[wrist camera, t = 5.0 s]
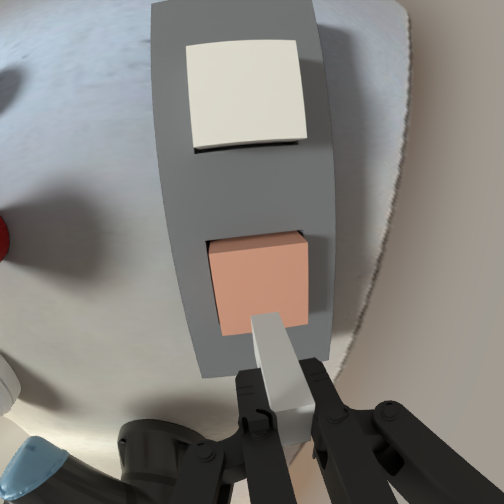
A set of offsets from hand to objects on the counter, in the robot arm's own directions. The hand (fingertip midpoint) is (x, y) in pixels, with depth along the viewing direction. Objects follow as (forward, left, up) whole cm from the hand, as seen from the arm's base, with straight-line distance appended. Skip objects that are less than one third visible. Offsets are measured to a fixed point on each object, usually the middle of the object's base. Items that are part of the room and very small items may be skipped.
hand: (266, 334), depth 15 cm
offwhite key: (+13, 0, -7) cm, 15 cm away
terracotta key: (0, 0, -8) cm, 8 cm away
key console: (+7, 0, -11) cm, 13 cm away
